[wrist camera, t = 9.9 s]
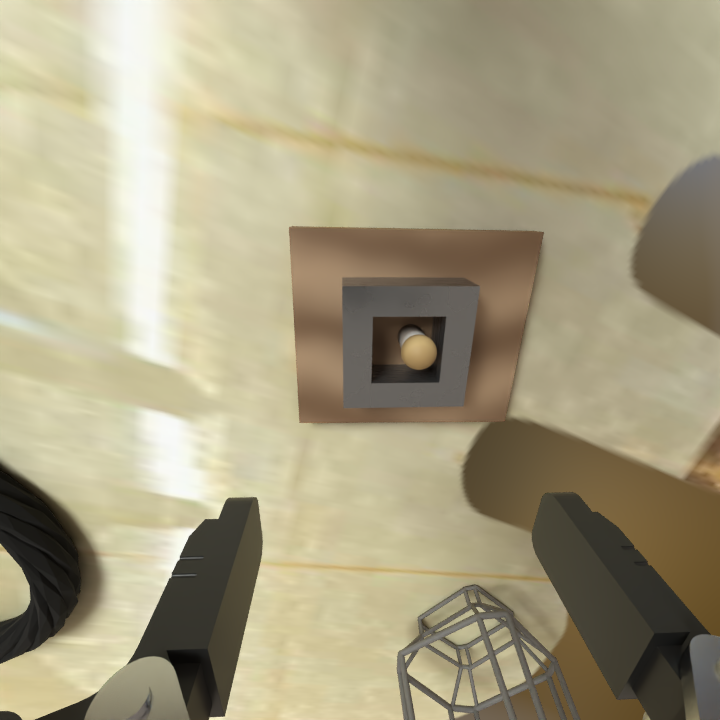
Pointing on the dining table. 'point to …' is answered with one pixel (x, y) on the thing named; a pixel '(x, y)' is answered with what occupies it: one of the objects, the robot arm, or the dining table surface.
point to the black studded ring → (36, 568)
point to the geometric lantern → (481, 660)
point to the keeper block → (409, 334)
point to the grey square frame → (449, 333)
